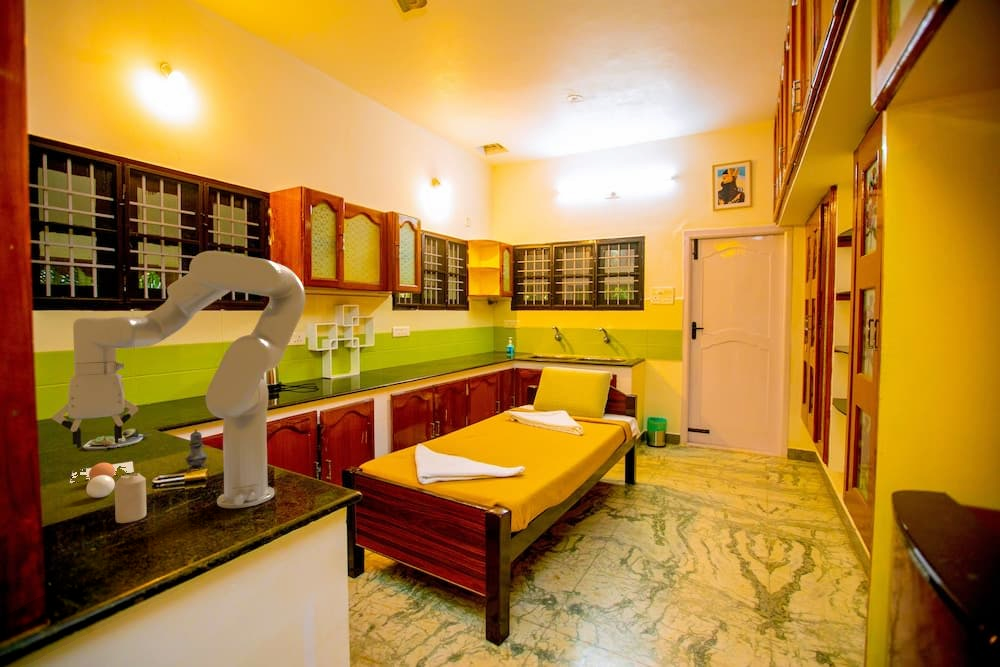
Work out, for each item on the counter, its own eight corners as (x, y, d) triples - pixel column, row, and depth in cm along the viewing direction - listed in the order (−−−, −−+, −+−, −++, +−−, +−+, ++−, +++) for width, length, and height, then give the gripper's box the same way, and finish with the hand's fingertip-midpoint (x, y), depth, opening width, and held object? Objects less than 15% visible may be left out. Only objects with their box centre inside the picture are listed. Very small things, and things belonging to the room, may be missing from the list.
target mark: (133, 472, 137) (133, 472, 137) (69, 483, 128) (69, 482, 128) (132, 461, 148) (132, 461, 148) (73, 471, 139) (73, 470, 139)
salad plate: (138, 449, 165) (138, 436, 165) (73, 455, 157) (73, 442, 157) (151, 437, 182) (151, 425, 182) (93, 442, 174) (93, 430, 174)
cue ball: (111, 498, 117) (111, 477, 117) (83, 502, 114) (82, 480, 114) (117, 491, 122) (117, 470, 122) (90, 495, 119) (89, 474, 119)
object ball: (112, 483, 128) (111, 464, 127) (86, 487, 125) (85, 467, 125) (117, 478, 132) (116, 459, 132) (92, 481, 130) (92, 461, 130)
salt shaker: (196, 471, 137) (195, 431, 137) (180, 470, 139) (179, 431, 138) (212, 465, 143) (211, 427, 143) (196, 464, 144) (195, 426, 144)
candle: (142, 511, 109) (141, 469, 109) (149, 517, 105) (148, 474, 105) (112, 519, 105) (111, 475, 104) (119, 525, 101) (117, 480, 101)
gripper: (141, 366, 118) (143, 435, 119) (47, 371, 107) (49, 447, 108) (142, 368, 112) (144, 441, 113) (43, 373, 101) (46, 454, 102)
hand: (98, 443), depth 110 cm, fingers open, 6 cm apart
